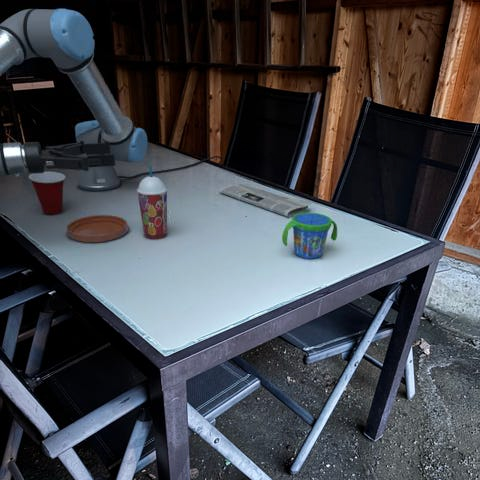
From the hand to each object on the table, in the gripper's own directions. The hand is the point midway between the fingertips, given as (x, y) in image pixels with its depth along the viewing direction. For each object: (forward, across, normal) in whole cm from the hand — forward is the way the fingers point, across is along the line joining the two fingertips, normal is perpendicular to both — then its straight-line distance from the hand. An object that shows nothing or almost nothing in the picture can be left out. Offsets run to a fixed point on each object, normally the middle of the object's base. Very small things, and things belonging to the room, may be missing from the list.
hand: (112, 153), depth 125 cm
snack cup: (+48, +25, -24) cm, 59 cm away
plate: (-6, -7, -24) cm, 26 cm away
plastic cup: (-19, -29, -24) cm, 42 cm away
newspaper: (+52, -21, -24) cm, 61 cm away
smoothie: (+10, 0, -24) cm, 26 cm away
